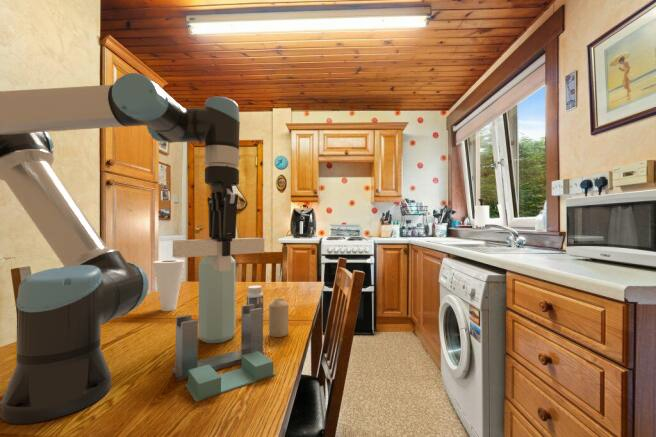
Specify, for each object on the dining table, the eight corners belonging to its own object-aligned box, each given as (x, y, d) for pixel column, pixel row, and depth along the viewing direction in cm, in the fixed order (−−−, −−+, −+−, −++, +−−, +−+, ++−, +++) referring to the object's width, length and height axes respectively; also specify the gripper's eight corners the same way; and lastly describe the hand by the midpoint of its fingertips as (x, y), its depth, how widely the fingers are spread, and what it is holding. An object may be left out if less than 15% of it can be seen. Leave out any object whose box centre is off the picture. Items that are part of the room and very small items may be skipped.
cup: (175, 313, 112) (176, 262, 112) (146, 313, 112) (146, 262, 112) (189, 305, 123) (189, 259, 123) (162, 305, 123) (162, 259, 123)
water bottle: (224, 345, 82) (224, 250, 82) (190, 343, 84) (190, 249, 84) (242, 333, 92) (242, 247, 92) (211, 330, 94) (211, 247, 94)
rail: (175, 257, 64) (176, 240, 65) (172, 256, 67) (172, 240, 67) (264, 252, 77) (264, 238, 77) (258, 251, 79) (258, 237, 79)
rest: (195, 401, 56) (196, 384, 56) (185, 386, 61) (185, 370, 62) (275, 375, 66) (275, 360, 66) (260, 363, 71) (260, 350, 71)
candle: (279, 338, 87) (279, 302, 87) (265, 335, 90) (265, 300, 90) (292, 332, 92) (292, 298, 92) (277, 329, 95) (277, 296, 95)
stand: (179, 381, 63) (179, 323, 63) (172, 371, 68) (173, 317, 68) (264, 356, 75) (264, 308, 75) (254, 349, 79) (254, 303, 80)
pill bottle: (266, 314, 111) (266, 286, 111) (254, 318, 106) (255, 288, 106) (255, 311, 114) (255, 284, 114) (243, 315, 109) (243, 287, 109)
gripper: (252, 164, 68) (251, 272, 68) (225, 173, 81) (224, 264, 80) (218, 159, 64) (217, 275, 63) (195, 170, 76) (194, 267, 76)
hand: (221, 269), depth 72 cm, fingers closed on rail, 3 cm apart
